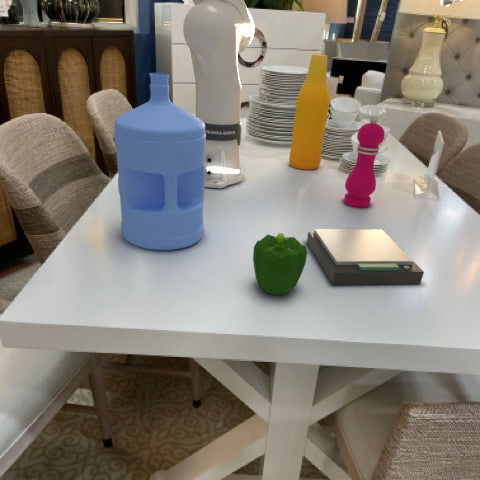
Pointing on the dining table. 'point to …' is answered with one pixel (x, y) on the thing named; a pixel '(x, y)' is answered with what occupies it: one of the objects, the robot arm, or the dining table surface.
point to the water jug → (160, 172)
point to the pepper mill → (364, 165)
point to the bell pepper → (278, 263)
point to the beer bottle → (310, 117)
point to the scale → (362, 257)
